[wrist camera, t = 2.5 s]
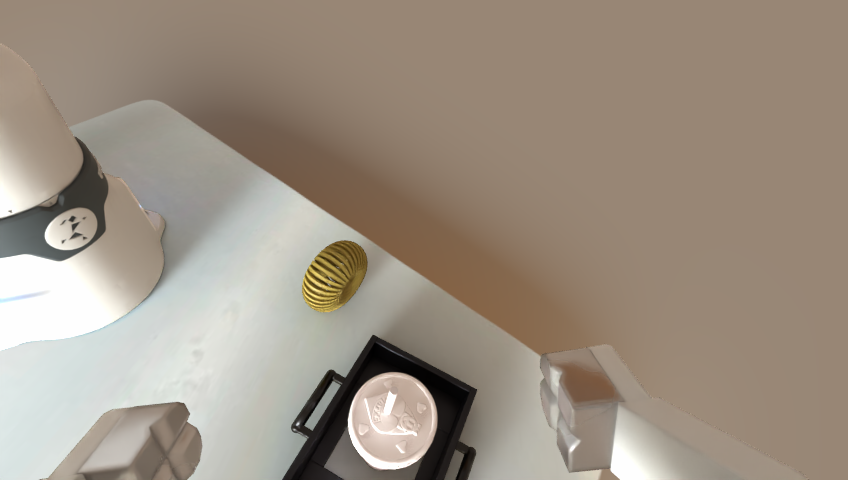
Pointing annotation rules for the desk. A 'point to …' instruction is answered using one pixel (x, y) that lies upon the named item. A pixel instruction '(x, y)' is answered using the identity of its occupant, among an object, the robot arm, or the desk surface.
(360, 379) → the pan
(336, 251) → the sculpture
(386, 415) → the smoothie
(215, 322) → the desk surface
